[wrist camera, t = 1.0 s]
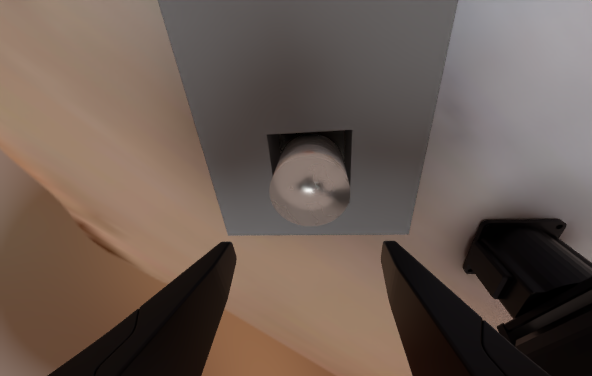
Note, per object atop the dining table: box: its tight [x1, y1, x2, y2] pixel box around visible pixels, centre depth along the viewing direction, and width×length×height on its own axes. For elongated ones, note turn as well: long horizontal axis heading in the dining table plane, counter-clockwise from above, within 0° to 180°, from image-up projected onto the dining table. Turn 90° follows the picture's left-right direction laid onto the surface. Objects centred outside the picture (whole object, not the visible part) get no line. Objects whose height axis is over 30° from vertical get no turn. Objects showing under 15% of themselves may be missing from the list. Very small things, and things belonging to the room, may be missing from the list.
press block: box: [158, 0, 458, 235], centre depth 13 cm, size 14×24×4 cm, turn 5°
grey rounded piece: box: [269, 134, 350, 226], centre depth 14 cm, size 4×4×4 cm
